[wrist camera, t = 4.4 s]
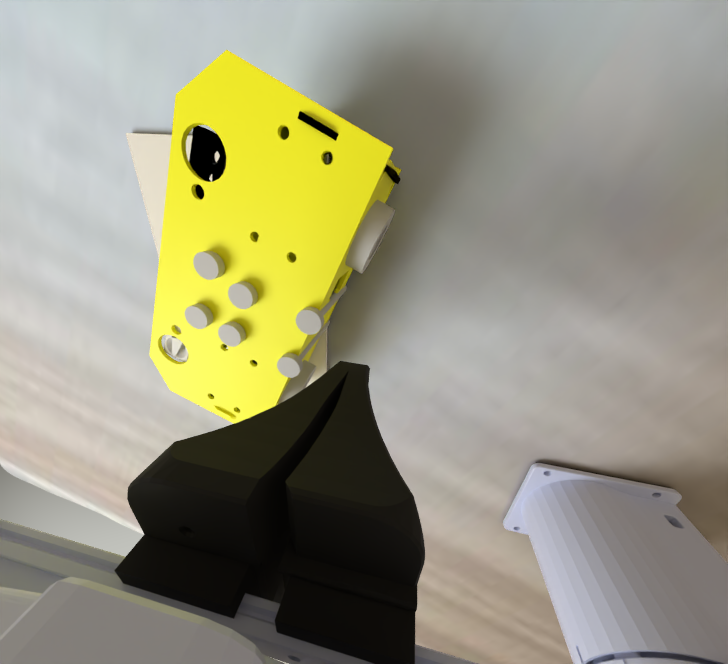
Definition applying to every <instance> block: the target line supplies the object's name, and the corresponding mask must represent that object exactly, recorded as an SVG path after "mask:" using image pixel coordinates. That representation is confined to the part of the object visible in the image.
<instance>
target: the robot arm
mask: <svg viewBox="0 0 728 664" xmlns="http://www.w3.org/2000/svg"><path fill="white" fill-rule="evenodd" d="M369 371H370V368H369V367H368V365H362V364H356V363H349V362H343V361H340V362H338V363H337V364H336V365H335V366H333V367H332V368H331V369H330V370H328V371H327V372H326V373H325V374H323V375H322V376H321V377H319V378H318V379H317V380H315V381H314V382H313V383H311V384H310V385H309V386H307V387H306V388H304V389H303V390H301V391H300V392H298V393H297V394H295V395H294V396H292V397H290V398H289V399H287V400H285V401H283V402H281V403H280V404H278V405H276V406H274V407H272V408H270V409H268V410H265V411H263V412H261V413H259V414H257V415H254V416H252V417H250V418H248V419H245V420H243V421H240V422H237V423H235V424H232V425H229V426H226V427H224V428H221V429H218V430H215V431H212V432H208V433H205V434H201V435H198V436H194V437H191V438H187V439H184V440H180V441H176V442H174V443H173V444H172V445H171V446H170V447H169V448H168V449H167V450H165V451H164V452H163V453H162V454H161V455H160V456H159V457H158V458H157V459H156V460H155V461H154V462H153V463H152V464H151V465H150V466H148V467H147V468H146V469H145V470H144V471H143V472H142V473H141V474H140V475H139V476H138V477H137V478H136V479H135V480H134V481H133V482H132V483H131V484H130V486H129V487H128V498H127V499H128V502H129V505H130V507H131V509H132V511H133V513H134V515H135V517H136V519H137V521H138V523H139V525H140V526H141V528H142V530H143V532H144V534H145V535H144V536H143V537H142V538H141V539H140V541H139V542H138V543H137V544H136V545H135V547H134V548H133V549H132V550H131V551H130V552H129V554H128V555H127V556H126V557H124V556H121V555H117V554H114V553H111V552H108V551H104V550H101V549H98V548H94V547H91V546H88V545H84V544H81V543H78V542H75V541H71V540H68V539H65V538H61V537H58V536H55V535H51V534H48V533H45V532H41V531H38V530H35V529H31V528H28V527H25V526H22V525H18V524H15V523H12V522H8V521H5V520H2V519H0V664H284V663H282V662H280V661H283V662H286V663H289V664H478V663H475V662H471V661H468V660H465V659H462V658H458V657H455V656H452V655H448V654H445V653H442V652H438V651H435V650H432V649H428V648H425V647H422V646H419V645H415V612H416V610H417V583H418V580H419V577H420V574H421V571H422V568H423V565H424V560H425V547H424V539H423V533H422V528H421V523H420V519H419V515H418V511H417V507H416V504H415V500H414V496H413V494H412V493H411V491H410V490H409V488H408V487H407V485H406V483H405V482H404V480H403V478H402V477H401V475H400V473H399V471H398V470H397V468H396V466H395V464H394V462H393V460H392V458H391V456H390V454H389V452H388V450H387V448H386V446H385V443H384V441H383V439H382V436H381V434H380V431H379V429H378V426H377V423H376V420H375V416H374V413H373V409H372V405H371V400H370V394H369V387H368V382H369ZM681 498H682V496H681V495H680V494H679V493H678V491H676V490H675V489H671V488H666V487H661V486H655V485H650V484H645V483H640V482H635V481H630V480H625V479H619V478H614V477H609V476H604V475H599V474H594V473H588V472H583V471H578V470H573V469H568V468H563V467H558V466H552V465H547V464H542V463H535V464H533V465H532V466H531V468H530V470H529V472H528V474H527V475H526V477H525V479H524V481H523V483H522V485H521V487H520V489H519V491H518V493H517V495H516V497H515V499H514V501H513V503H512V505H511V507H510V509H509V511H508V513H507V515H506V517H505V519H504V521H503V525H504V527H505V528H506V529H507V530H510V531H514V532H519V533H523V534H527V535H529V537H530V540H531V543H532V546H533V549H534V552H535V555H536V557H537V560H538V563H539V566H540V569H541V572H542V575H543V578H544V580H545V583H546V586H547V589H548V592H549V595H550V598H551V600H552V603H553V606H554V609H555V612H556V615H557V618H558V621H559V623H560V626H561V629H562V632H563V635H564V638H565V641H566V644H567V646H568V649H569V652H570V655H571V658H572V661H573V664H728V563H727V562H726V561H725V560H724V559H723V558H722V557H721V555H720V554H719V553H718V552H717V551H716V550H715V549H714V548H713V546H712V545H711V544H710V543H709V542H708V541H707V540H706V539H705V537H704V536H703V535H702V534H701V533H700V532H699V531H698V530H697V528H696V527H695V526H694V525H693V524H692V523H691V522H690V521H689V519H688V518H687V517H686V516H685V515H684V514H683V513H682V512H681V510H680V509H679V508H678V507H677V506H676V504H677V503H678V502H679V501H680V500H681ZM270 657H271V658H270ZM273 658H274V659H273ZM275 659H278V660H280V661H277V660H275Z"/></svg>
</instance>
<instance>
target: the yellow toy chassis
mask: <svg viewBox="0 0 728 664" xmlns="http://www.w3.org/2000/svg"><path fill="white" fill-rule="evenodd" d="M198 125H207V126H209V127H211V128H212V129H213V130H214V131H215V132H216V133H217V134H218V135H217V134H215V133H214V132H212V131H210V130H208V129H206V128H203V127H200V126H198ZM192 128H193V136H192V143H191V151H190V158H189V161H188V157H187V153H186V140H187V136H188V134H189V132H190V131H191V130H192ZM217 151H218V153H219V155H220V157H219V159H218V161H217V162H216V160H215V153H216V152H217ZM392 152H393V148H392V147H390V146H388V145H387V144H385V143H383V142H382V141H380V140H378V139H377V138H375V137H373V136H372V135H370V134H368V133H366V132H365V131H363V130H361V129H360V128H358V127H356V126H355V125H353V124H351V123H350V122H348V121H346V120H344V119H343V118H341V117H339V116H338V115H336V114H334V113H333V112H331V111H329V110H328V109H326V108H324V107H322V106H321V105H319V104H317V103H316V102H314V101H312V100H311V99H309V98H307V97H306V96H304V95H302V94H300V93H299V92H297V91H295V90H294V89H292V88H290V87H289V86H287V85H285V84H284V83H282V82H280V81H278V80H277V79H275V78H273V77H272V76H270V75H268V74H267V73H265V72H263V71H262V70H260V69H258V68H257V67H255V66H253V65H251V64H250V63H248V62H246V61H245V60H243V59H241V58H240V57H238V56H236V55H235V54H233V53H231V52H229V51H228V50H226V51H225V52H224V53H222V54H221V55H220V56H219V57H218V58H217V59H216V60H214V61H213V62H212V63H211V64H210V65H209V66H208V67H207V68H205V69H204V70H203V71H202V72H201V73H200V74H199V75H197V76H196V77H195V78H194V79H193V80H192V81H191V82H190V83H188V84H187V85H186V86H185V87H184V88H183V89H182V90H180V91H179V92H178V93H177V94H176V99H175V108H174V118H173V128H172V138H171V148H170V158H169V168H168V178H167V188H166V197H165V207H164V217H163V227H162V237H161V247H160V257H159V267H158V277H157V286H156V296H155V306H154V316H153V326H152V336H151V346H150V357H151V359H152V360H153V362H154V364H155V365H156V367H157V369H158V370H159V372H160V374H161V375H162V377H163V379H164V380H165V382H166V384H167V386H168V387H169V389H170V390H171V391H173V392H174V393H176V394H178V395H180V396H182V397H184V398H186V399H188V400H190V401H192V402H194V403H196V404H197V405H199V406H201V407H203V408H205V409H207V410H209V411H211V412H213V413H215V414H217V415H219V416H220V417H222V418H224V419H226V420H228V421H230V422H232V423H234V424H235V423H237V422H240V421H243V420H245V419H248V418H250V417H252V416H254V415H257V414H259V413H261V412H263V411H265V410H268V409H270V408H272V407H274V406H276V405H278V404H280V403H281V402H283V401H285V400H287V399H289V398H290V397H292V396H294V395H295V394H297V393H298V392H300V391H301V390H303V389H304V388H306V386H307V384H308V383H309V381H310V379H311V377H312V375H313V373H314V371H315V369H316V367H317V366H315V365H314V364H312V363H310V362H308V361H309V359H310V357H311V355H312V353H313V350H314V348H315V346H316V344H317V342H318V340H319V338H320V336H321V335H322V333H323V332H324V331H325V330H326V328H327V327H328V326H329V324H330V321H329V318H330V316H331V314H332V311H333V309H334V307H335V305H336V303H337V301H338V299H339V298H340V297H341V296H342V295H343V294H344V293H345V292H346V290H347V287H346V283H347V281H348V279H349V277H350V275H351V273H352V270H353V269H354V270H356V271H358V272H359V273H361V274H362V273H363V272H364V271H365V269H366V268H367V266H368V265H369V263H370V261H371V260H372V258H373V256H374V254H375V252H376V251H377V249H378V247H379V245H380V243H381V241H382V239H383V237H384V235H385V233H386V231H387V229H388V227H389V225H390V223H391V221H392V218H393V216H394V213H395V209H393V208H392V207H390V206H388V205H386V204H385V203H386V201H387V199H388V197H389V195H390V193H391V190H392V188H393V186H394V184H395V183H397V184H398V183H399V181H400V178H399V174H400V172H401V169H399V168H397V167H396V166H394V164H393V162H392V161H391V160H389V158H390V156H391V154H392ZM327 154H329V155H330V157H331V160H330V162H329V163H325V161H324V157H325V155H327ZM211 174H212V182H211V181H210V179H209V178H210V176H211ZM164 335H166V338H165V345H164V349H163V347H162V344H161V339H162V336H164ZM227 347H228V349H226V348H227ZM166 353H168V354H170V355H172V356H173V357H175V358H177V359H179V360H181V361H183V362H178V361H176V360H174V359H172V358H171V357H169V356H168V355H167V354H166Z"/></svg>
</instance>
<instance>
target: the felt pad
mask: <svg viewBox="0 0 728 664" xmlns="http://www.w3.org/2000/svg"><path fill="white" fill-rule="evenodd" d="M126 136H127V140H128V144H129V147H130V151H131V155H132V159H133V163H134V166H135V170H136V174H137V178H138V181H139V185H140V189H141V193H142V196H143V200H144V204H145V208H146V211H147V215H148V219H149V223H150V226H151V230H152V234H153V238H154V241H155V245H156V249H157V253H158V257H160V247H161V237H162V227H163V217H164V207H165V197H166V188H167V178H168V168H169V158H170V148H171V138H172V135H163V134H137V133H126ZM191 143H192V136H190V135H188V136H187V140H186V153H187V157H188V161H189V158H190V151H191ZM219 157H220V155H219V153H218V151H217V152H216V153H215V160H216V162H217V161H218V159H219ZM324 161H325V163H329V154H327V155H325V157H324ZM209 179H210V181H211V182H212V174H211V176H210V178H209ZM226 349H228V347H227V348H226ZM308 362H310V363H312V364H314V365H315V366H317V367H316V369H315V371H314V373H313V375H312V377H311V379H310V381H309V383H308V384H307V386H309V385H310V384H311V383H313V382H314V381H315V380H317V379H318V378H319V377H321V376H322V375H323V374H325V373H326V372H327V328H326V330H325V331H324V332H323V333H322V335H321V336H320V338H319V340H318V342H317V344H316V346H315V348H314V350H313V353H312V355H311V357H310V359H309V361H308ZM307 386H306V387H307ZM198 406H199V405H198Z"/></svg>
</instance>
